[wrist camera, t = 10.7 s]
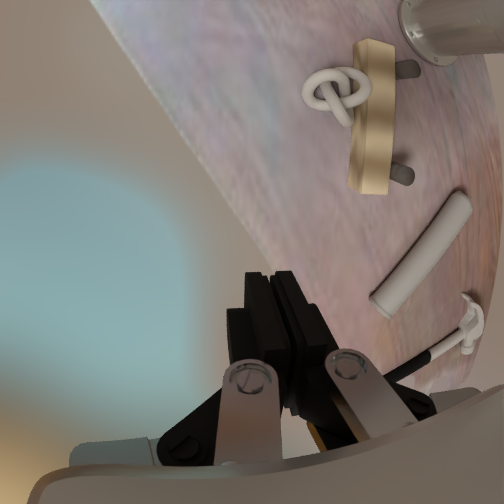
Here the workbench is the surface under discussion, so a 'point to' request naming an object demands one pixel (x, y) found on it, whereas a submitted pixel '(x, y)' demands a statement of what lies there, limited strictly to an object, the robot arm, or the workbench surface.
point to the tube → (423, 255)
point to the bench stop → (377, 119)
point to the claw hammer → (447, 342)
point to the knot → (333, 103)
